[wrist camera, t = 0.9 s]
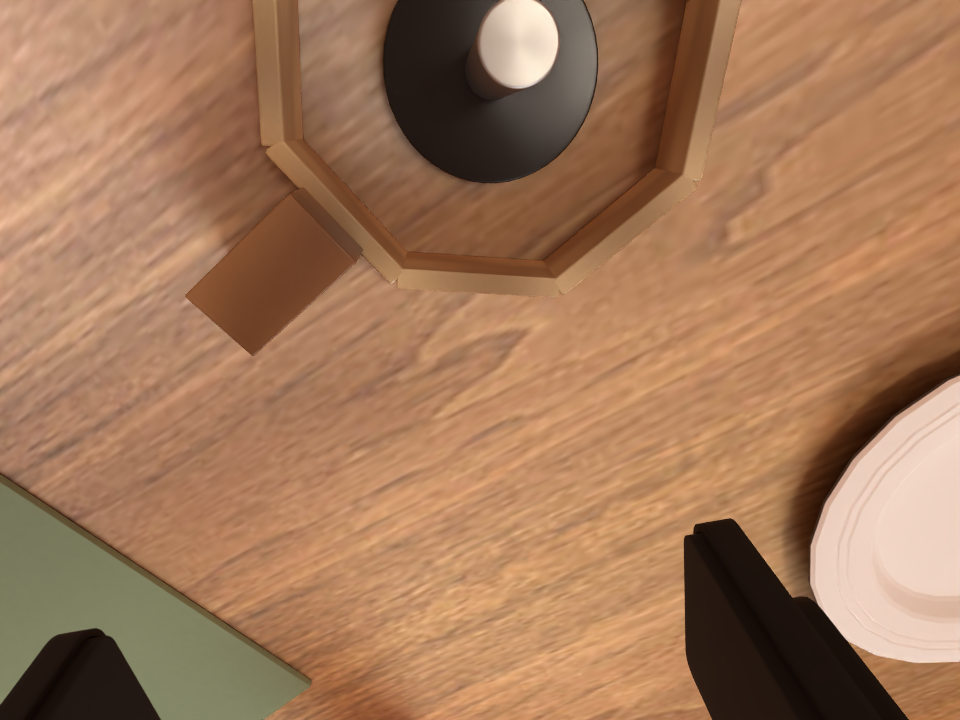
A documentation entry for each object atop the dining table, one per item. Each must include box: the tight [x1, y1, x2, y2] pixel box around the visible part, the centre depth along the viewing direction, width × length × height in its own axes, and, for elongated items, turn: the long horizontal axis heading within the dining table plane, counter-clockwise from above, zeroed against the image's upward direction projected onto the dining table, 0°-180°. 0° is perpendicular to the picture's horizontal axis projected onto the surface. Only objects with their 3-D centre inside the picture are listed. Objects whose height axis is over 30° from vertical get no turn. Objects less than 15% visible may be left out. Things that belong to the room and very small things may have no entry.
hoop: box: [185, 0, 742, 356], centre depth 20 cm, size 16×21×5 cm
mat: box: [0, 474, 312, 720], centre depth 32 cm, size 24×24×1 cm
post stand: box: [383, 0, 598, 183], centre depth 18 cm, size 8×8×9 cm
